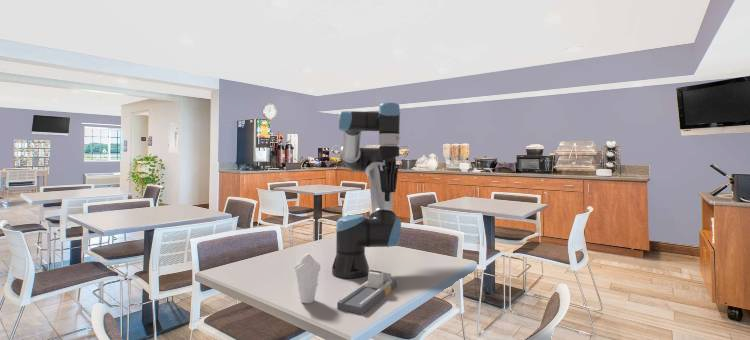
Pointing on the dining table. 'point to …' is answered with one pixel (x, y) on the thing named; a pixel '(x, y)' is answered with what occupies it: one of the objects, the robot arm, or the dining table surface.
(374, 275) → the fader tab
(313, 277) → the soft serve ice cream cone
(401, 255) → the dining table surface
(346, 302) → the slider track
